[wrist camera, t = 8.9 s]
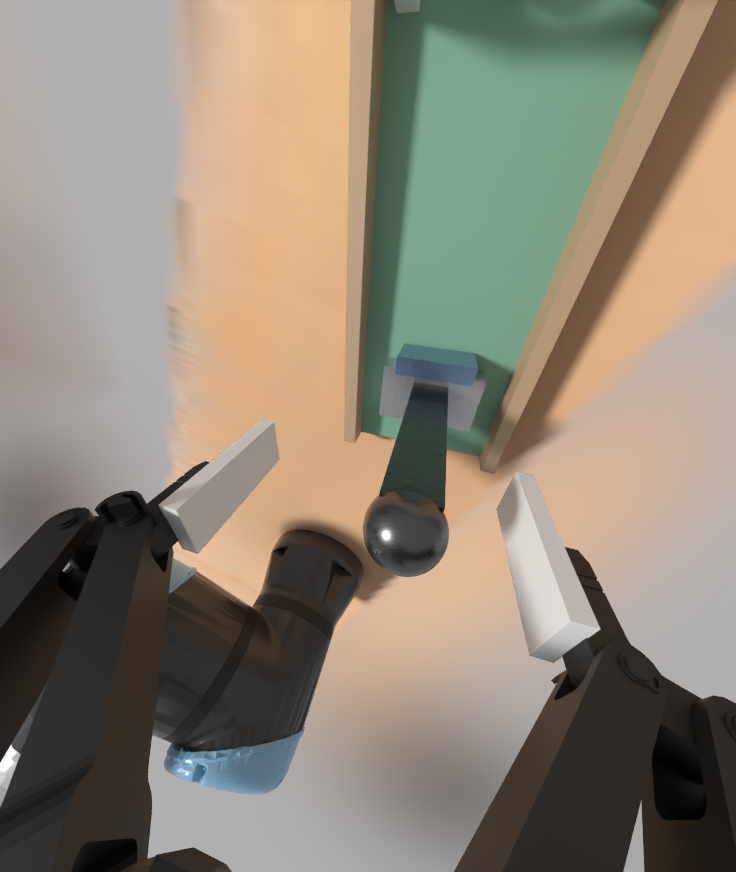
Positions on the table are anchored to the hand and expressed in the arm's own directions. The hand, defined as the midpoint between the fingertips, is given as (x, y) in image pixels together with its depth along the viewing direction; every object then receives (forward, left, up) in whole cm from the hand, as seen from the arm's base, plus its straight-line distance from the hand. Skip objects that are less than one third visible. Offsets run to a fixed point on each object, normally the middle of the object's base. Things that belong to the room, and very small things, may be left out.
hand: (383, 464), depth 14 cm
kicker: (+1, -2, -9) cm, 9 cm away
